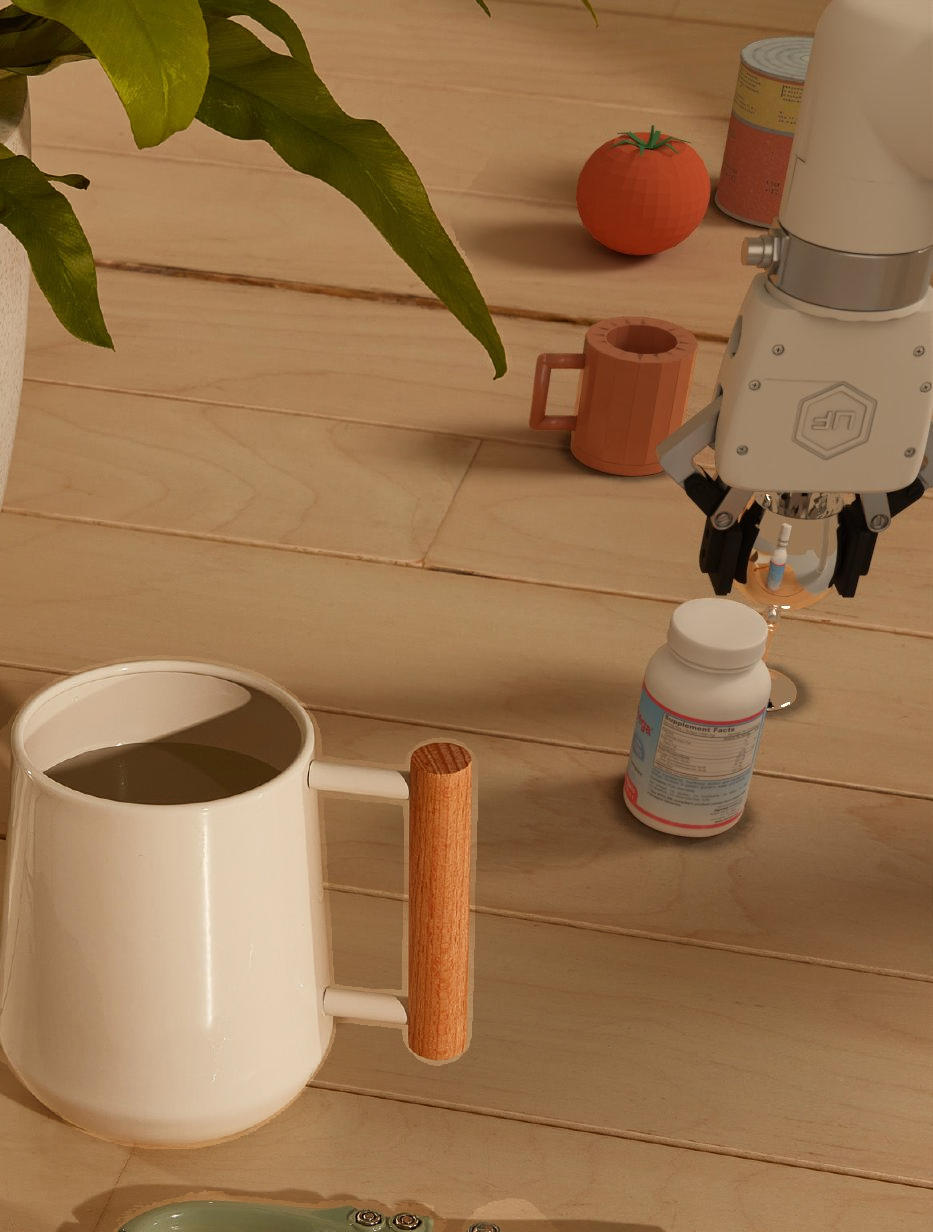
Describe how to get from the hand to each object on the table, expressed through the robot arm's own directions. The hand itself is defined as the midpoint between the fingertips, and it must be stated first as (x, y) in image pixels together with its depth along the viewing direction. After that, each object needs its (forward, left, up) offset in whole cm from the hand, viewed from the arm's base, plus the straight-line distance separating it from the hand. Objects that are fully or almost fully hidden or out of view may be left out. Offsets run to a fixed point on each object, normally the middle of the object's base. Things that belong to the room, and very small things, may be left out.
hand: (779, 580), depth 110 cm
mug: (+4, -28, -7) cm, 29 cm away
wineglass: (0, 0, -7) cm, 7 cm away
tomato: (-3, -62, -7) cm, 62 cm away
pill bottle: (+6, +11, -7) cm, 14 cm away
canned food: (-17, -72, -7) cm, 74 cm away
